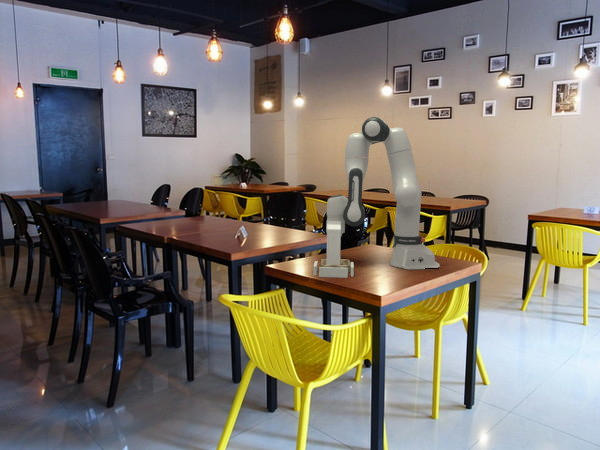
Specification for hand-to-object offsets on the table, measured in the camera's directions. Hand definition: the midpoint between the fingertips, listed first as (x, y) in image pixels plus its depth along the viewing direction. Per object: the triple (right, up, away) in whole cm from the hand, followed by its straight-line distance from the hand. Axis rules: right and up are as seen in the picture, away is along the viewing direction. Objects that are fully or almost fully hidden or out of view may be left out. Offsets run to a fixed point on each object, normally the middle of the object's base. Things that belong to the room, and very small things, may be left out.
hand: (335, 257), depth 237 cm
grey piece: (-2, -5, -24) cm, 25 cm away
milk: (-2, -5, -18) cm, 19 cm away
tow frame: (-1, -3, -10) cm, 11 cm away
